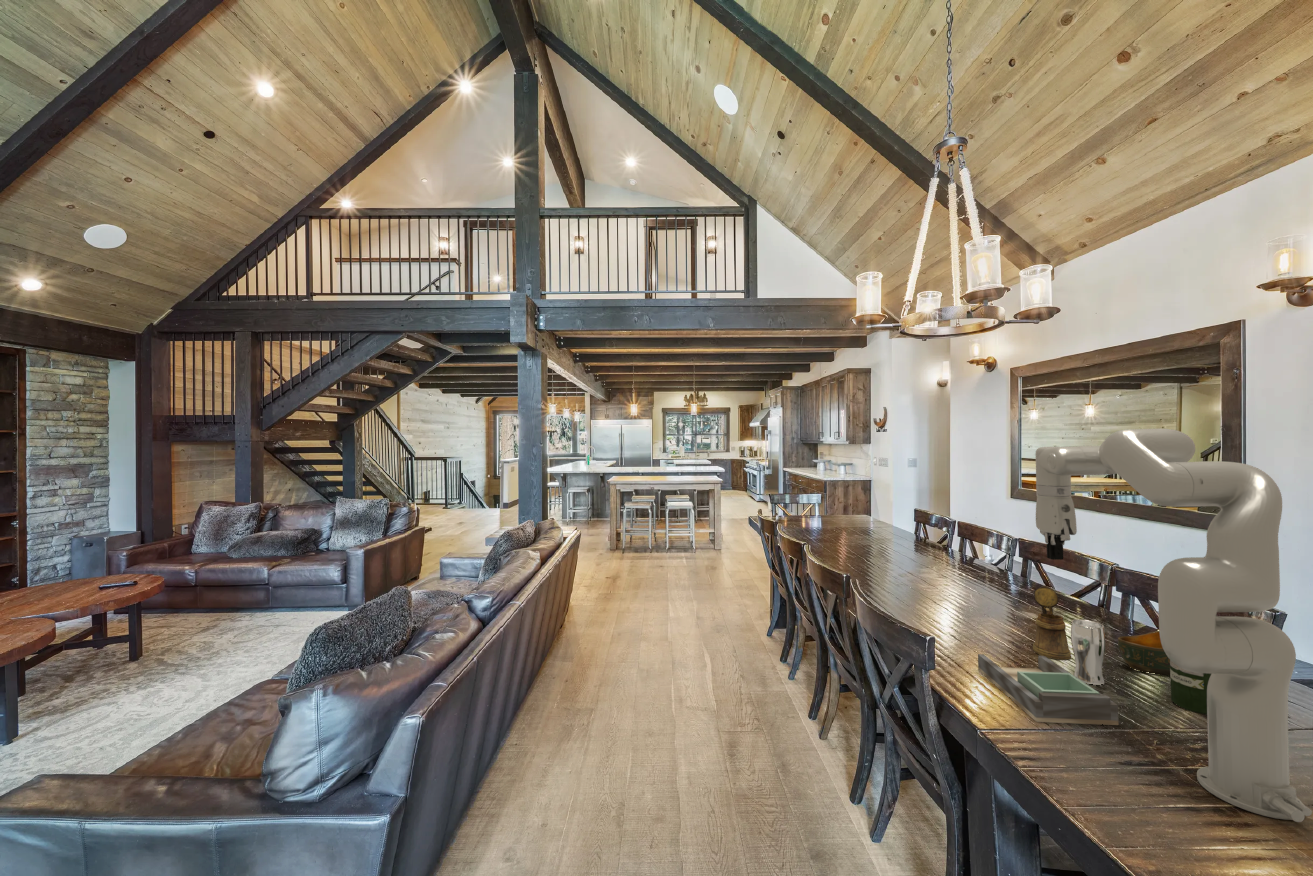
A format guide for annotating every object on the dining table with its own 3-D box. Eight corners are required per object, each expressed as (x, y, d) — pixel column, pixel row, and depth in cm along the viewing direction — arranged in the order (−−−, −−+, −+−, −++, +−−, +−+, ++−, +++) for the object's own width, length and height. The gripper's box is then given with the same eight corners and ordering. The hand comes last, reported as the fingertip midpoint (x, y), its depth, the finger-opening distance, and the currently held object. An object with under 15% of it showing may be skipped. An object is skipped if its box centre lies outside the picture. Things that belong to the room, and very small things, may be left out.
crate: (1100, 715, 116) (1099, 693, 116) (1043, 712, 117) (1042, 691, 117) (1070, 693, 126) (1069, 673, 126) (1017, 691, 127) (1017, 671, 127)
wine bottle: (1163, 701, 123) (1160, 577, 123) (1182, 695, 126) (1178, 574, 126) (1208, 718, 116) (1204, 586, 116) (1226, 711, 119) (1223, 582, 119)
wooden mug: (1064, 645, 157) (1063, 587, 157) (1074, 662, 145) (1072, 599, 145) (1029, 640, 161) (1027, 583, 161) (1035, 656, 149) (1034, 595, 150)
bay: (1118, 725, 114) (1117, 698, 114) (1036, 721, 116) (1035, 695, 116) (1044, 672, 140) (1043, 650, 140) (978, 670, 142) (977, 648, 142)
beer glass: (1113, 687, 130) (1111, 629, 131) (1082, 685, 132) (1080, 627, 132) (1095, 675, 137) (1094, 619, 137) (1066, 673, 139) (1064, 618, 139)
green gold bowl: (1226, 688, 129) (1224, 647, 129) (1122, 672, 139) (1120, 635, 139) (1205, 668, 140) (1203, 631, 140) (1109, 655, 150) (1108, 620, 150)
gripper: (1088, 494, 131) (1090, 565, 131) (1050, 488, 146) (1052, 552, 146) (1056, 494, 132) (1058, 565, 132) (1022, 489, 147) (1023, 552, 147)
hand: (1055, 558), depth 139 cm, fingers closed
